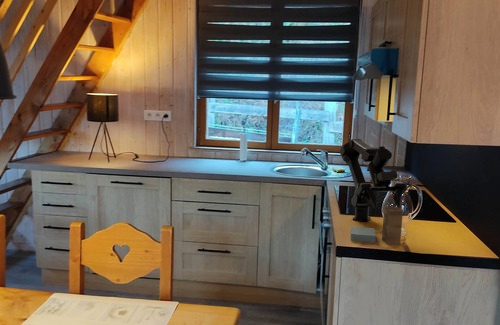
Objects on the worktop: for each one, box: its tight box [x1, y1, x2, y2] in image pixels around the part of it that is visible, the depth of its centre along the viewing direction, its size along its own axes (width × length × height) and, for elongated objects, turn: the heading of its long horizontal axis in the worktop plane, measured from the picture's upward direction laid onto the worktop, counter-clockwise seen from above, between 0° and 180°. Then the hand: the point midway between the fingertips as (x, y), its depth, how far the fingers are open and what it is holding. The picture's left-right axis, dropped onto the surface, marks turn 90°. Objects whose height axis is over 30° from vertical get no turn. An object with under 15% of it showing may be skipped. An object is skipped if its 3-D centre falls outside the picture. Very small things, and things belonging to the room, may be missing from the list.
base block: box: [350, 226, 377, 243], centre depth 173 cm, size 9×9×3 cm
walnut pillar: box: [381, 206, 404, 245], centre depth 168 cm, size 5×5×13 cm
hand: (387, 208), depth 172 cm, fingers open, 9 cm apart
